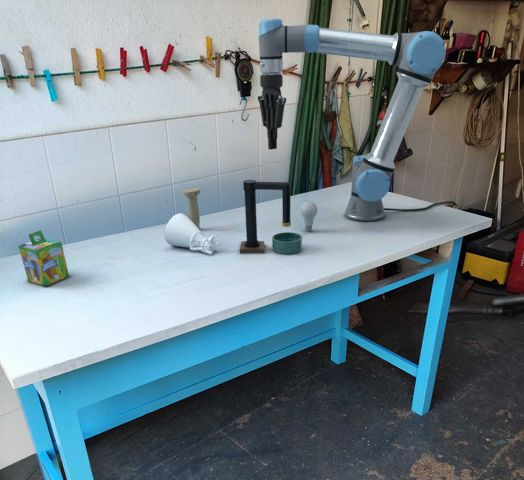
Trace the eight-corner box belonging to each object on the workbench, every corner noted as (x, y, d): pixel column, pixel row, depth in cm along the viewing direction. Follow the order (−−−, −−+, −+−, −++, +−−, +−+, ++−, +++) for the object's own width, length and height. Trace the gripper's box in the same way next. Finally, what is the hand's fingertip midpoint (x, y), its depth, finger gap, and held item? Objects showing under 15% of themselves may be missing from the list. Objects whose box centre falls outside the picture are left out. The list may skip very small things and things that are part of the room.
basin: (301, 244, 183) (301, 232, 180) (302, 254, 174) (302, 241, 172) (272, 244, 183) (272, 232, 181) (272, 255, 174) (271, 242, 172)
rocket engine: (219, 226, 171) (178, 206, 178) (200, 254, 170) (159, 234, 177) (230, 243, 182) (191, 224, 189) (212, 270, 181) (174, 250, 187)
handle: (205, 229, 200) (202, 189, 192) (192, 233, 196) (188, 192, 189) (198, 226, 203) (194, 187, 195) (184, 230, 200) (180, 190, 192)
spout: (243, 225, 174) (241, 182, 167) (246, 222, 178) (244, 179, 170) (289, 227, 171) (289, 183, 164) (291, 223, 175) (291, 180, 167)
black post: (264, 245, 183) (262, 187, 173) (263, 253, 176) (261, 193, 166) (241, 245, 184) (238, 187, 173) (239, 253, 177) (236, 193, 166)
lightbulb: (298, 233, 193) (298, 203, 187) (303, 228, 198) (303, 199, 192) (313, 234, 191) (314, 204, 185) (318, 229, 196) (319, 200, 190)
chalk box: (46, 287, 157) (33, 239, 149) (26, 281, 161) (13, 235, 153) (70, 276, 163) (59, 230, 156) (51, 271, 168) (40, 226, 160)
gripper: (250, 74, 176) (253, 147, 188) (274, 75, 167) (275, 152, 179) (267, 72, 180) (269, 145, 192) (292, 73, 171) (292, 149, 183)
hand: (272, 148), depth 185 cm, fingers closed
